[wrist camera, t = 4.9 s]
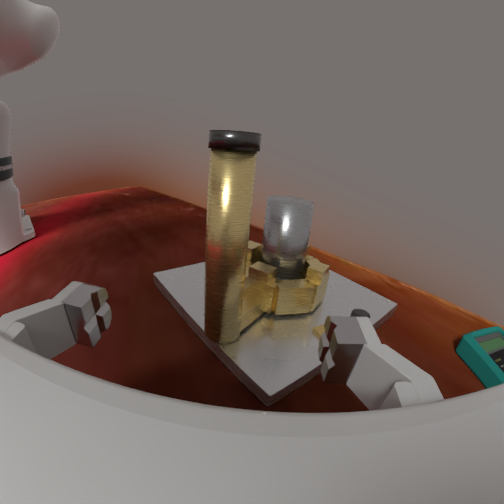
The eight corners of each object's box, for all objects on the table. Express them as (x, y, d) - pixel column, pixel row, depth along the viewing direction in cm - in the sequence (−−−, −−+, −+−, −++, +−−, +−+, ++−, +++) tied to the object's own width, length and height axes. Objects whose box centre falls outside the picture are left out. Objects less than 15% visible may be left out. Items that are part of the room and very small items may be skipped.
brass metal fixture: (263, 262, 32) (277, 141, 27) (332, 286, 28) (357, 153, 23) (168, 316, 20) (167, 130, 15) (260, 368, 16) (292, 134, 11)
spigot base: (153, 283, 28) (150, 187, 24) (279, 253, 39) (288, 182, 35) (284, 423, 14) (327, 274, 10) (406, 320, 25) (436, 228, 21)
